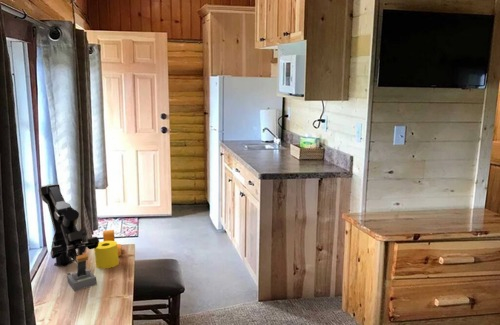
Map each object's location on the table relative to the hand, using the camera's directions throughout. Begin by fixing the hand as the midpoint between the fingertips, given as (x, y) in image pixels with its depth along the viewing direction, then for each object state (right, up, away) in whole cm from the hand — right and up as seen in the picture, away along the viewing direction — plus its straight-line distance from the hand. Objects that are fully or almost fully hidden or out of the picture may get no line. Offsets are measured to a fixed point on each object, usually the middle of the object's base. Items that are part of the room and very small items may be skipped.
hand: (81, 265), depth 185 cm
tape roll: (+4, -5, +22) cm, 23 cm away
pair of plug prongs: (-5, -7, +10) cm, 13 cm away
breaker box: (-1, -8, +3) cm, 9 cm away
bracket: (+3, -2, +34) cm, 34 cm away
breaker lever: (-1, -4, +2) cm, 5 cm away
